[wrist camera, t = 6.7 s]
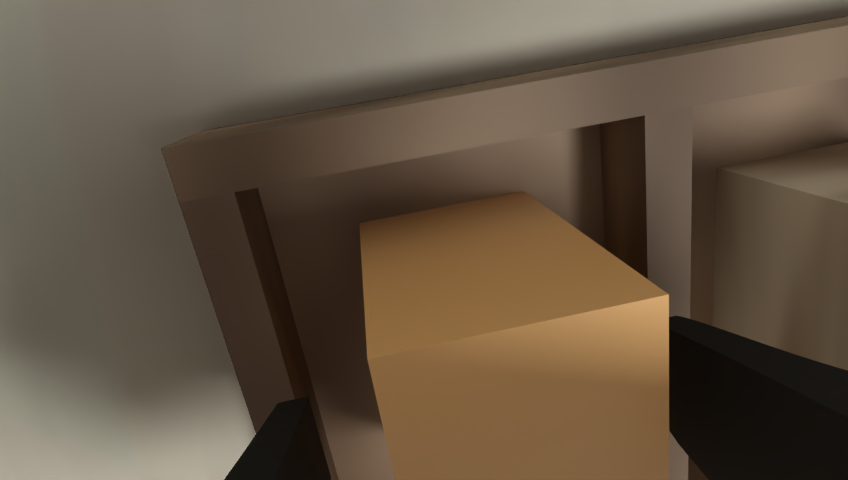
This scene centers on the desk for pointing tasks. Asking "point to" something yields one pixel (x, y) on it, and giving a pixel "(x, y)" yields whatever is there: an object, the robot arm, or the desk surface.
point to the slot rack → (485, 196)
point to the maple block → (785, 252)
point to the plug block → (513, 347)
